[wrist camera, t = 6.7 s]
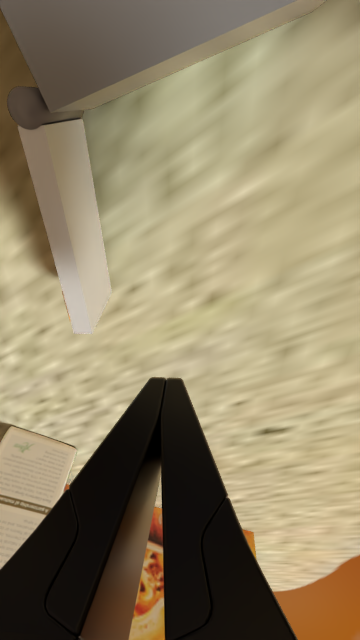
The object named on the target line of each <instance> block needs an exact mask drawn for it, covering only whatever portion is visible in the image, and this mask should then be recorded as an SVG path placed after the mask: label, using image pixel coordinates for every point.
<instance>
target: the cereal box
mask: <svg viewBox="0 0 360 640" xmlns="http://www.w3.org/2000/svg"><path fill="white" fill-rule="evenodd" d="M66 489H69V485H67V484H66V486H65V489H64V492H65V490H66ZM64 492H63V493H64ZM243 532H244V535H245V537H246V539H247V542H248V544H249V546H250V548H251V550H252V552H253V554H254V556H255V558H256V551H255V543H254V534H253V532H250V531H246V530H243ZM129 640H165V625H164V578H163V531H162V509H161V508H157V507H154V511H153V517H152V522H151V527H150V532H149V537H148V542H147V547H146V553H145V558H144V563H143V568H142V573H141V578H140V583H139V589H138V594H137V599H136V604H135V609H134V614H133V619H132V624H131V630H130V635H129Z"/></svg>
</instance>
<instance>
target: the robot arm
mask: <svg viewBox="0 0 360 640" xmlns="http://www.w3.org/2000/svg"><path fill="white" fill-rule="evenodd" d="M160 475H161V485H162V531H163V578H164V625H165V640H298V639H297V637H296V636H295V634H294V632H293V630H292V628H291V626H290V624H289V622H288V620H287V618H286V616H285V614H284V613H283V611H282V609H281V607H280V605H279V603H278V601H277V599H276V597H275V595H274V594H273V592H272V590H271V588H270V586H269V584H268V582H267V580H266V578H265V576H264V574H263V572H262V570H261V568H260V566H259V564H258V562H257V560H256V558H255V556H254V554H253V552H252V550H251V548H250V546H249V544H248V542H247V539H246V537H245V535H244V532H243V530H242V528H241V525H240V523H239V521H238V518H237V516H236V514H235V511H234V509H233V506H232V503H231V501H230V499H229V498H228V494H227V491H226V489H225V486H224V484H223V481H222V479H221V476H220V473H219V471H218V468H217V466H216V463H215V461H214V458H213V456H212V453H211V451H210V448H209V446H208V443H207V440H206V438H205V435H204V433H203V430H202V428H201V425H200V423H199V420H198V418H197V415H196V413H195V410H194V407H193V405H192V402H191V400H190V397H189V395H188V392H187V390H186V387H185V385H184V382H183V380H182V379H181V378H167V380H166V378H164V377H152V378H150V379H149V380H148V382H147V383H146V384H145V386H144V387H143V388H142V390H141V391H140V392H139V394H138V395H137V396H136V398H135V399H134V400H133V402H132V403H131V404H130V406H129V407H128V408H127V410H126V411H125V412H124V414H123V415H122V416H121V418H120V419H119V420H118V422H117V423H116V424H115V426H114V427H113V428H112V430H111V431H110V432H109V434H108V435H107V436H106V438H105V439H104V440H103V442H102V443H101V444H100V445H99V447H98V448H97V449H96V451H95V452H94V453H93V455H92V456H91V457H90V459H89V460H88V461H87V463H86V464H85V465H84V467H83V468H82V469H81V471H80V472H79V473H78V475H77V476H76V477H75V479H74V480H73V481H72V483H71V484H70V485H69V489H66V490H65V492H64V493H63V494H62V496H61V497H60V498H59V500H58V501H57V502H56V504H55V505H54V506H53V508H52V509H51V510H50V511H49V513H48V514H47V515H46V516H45V518H44V519H43V520H42V521H41V523H40V524H39V525H38V526H37V528H36V529H35V530H34V531H33V533H32V534H31V535H30V536H29V537H28V538H27V539H26V541H25V542H24V543H23V544H22V545H21V546H20V547H19V549H18V550H17V551H16V552H15V553H14V554H13V556H12V557H11V558H10V559H9V560H8V561H7V562H6V563H5V564H4V566H3V567H2V568H1V569H0V640H129V635H130V630H131V624H132V619H133V614H134V609H135V604H136V599H137V594H138V589H139V583H140V578H141V573H142V568H143V563H144V558H145V553H146V547H147V542H148V537H149V532H150V527H151V522H152V517H153V511H154V506H155V501H156V496H157V491H158V486H159V481H160Z"/></svg>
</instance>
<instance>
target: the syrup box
mask: <svg viewBox="0 0 360 640" xmlns="http://www.w3.org/2000/svg"><path fill="white" fill-rule="evenodd" d="M76 453H77V449H76V448H74V447H71V446H69V445H66V444H64V443H62V442H59V441H56V440H53V439H50V438H48V437H45V436H41V435H38V434H35V433H32V432H29V431H26V430H23V429H20V428H16V427H14V426H11V427H10V428H9V429H8V430H7V432H6V434H5V435H4V437H3V439H2V441H1V442H0V569H1V568H2V567H3V566H4V564H5V563H6V562H7V561H8V560H9V559H10V558H11V557H12V556H13V554H14V553H15V552H16V551H17V550H18V549H19V547H20V546H21V545H22V544H23V543H24V542H25V541H26V539H27V538H28V537H29V536H30V535H31V534H32V533H33V531H34V530H35V529H36V528H37V526H38V525H39V524H40V523H41V521H42V520H43V519H44V518H45V516H46V515H47V514H48V513H49V511H50V510H51V509H52V508H53V506H54V505H55V504H56V502H57V501H58V500H59V498H60V497H61V496H62V494H63V492H64V489H65V486H66V483H67V480H68V477H69V474H70V471H71V468H72V465H73V462H74V459H75V456H76Z"/></svg>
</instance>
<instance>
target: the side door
mask: <svg viewBox="0 0 360 640" xmlns="http://www.w3.org/2000/svg"><path fill="white" fill-rule="evenodd" d="M7 105H8V110H9V113H10V115H11V117H12V118H13V120H14V121H15V122H16V123H17V124H18V125H19V126H17V127H18V130H19V134H20V138H21V141H22V145H23V149H24V152H25V156H26V160H27V163H28V167H29V171H30V174H31V178H32V182H33V185H34V189H35V193H36V196H37V200H38V203H39V207H40V211H41V214H42V218H43V222H44V225H45V229H46V233H47V236H48V240H49V244H50V247H51V251H52V255H53V258H54V262H55V266H56V269H57V273H58V276H59V280H60V284H61V287H62V293H63V297H64V301H65V304H66V308H67V311H68V315H69V319H70V321H71V324H72V328H73V331H74V333H78V334H92V333H93V331H94V329H95V327H96V325H97V323H98V321H99V319H100V317H101V314H102V312H103V310H104V308H105V306H106V304H107V302H108V300H109V298H110V295H111V293H112V290H111V284H110V278H109V272H108V266H107V260H106V254H105V248H104V243H103V237H102V231H101V225H100V219H99V213H98V207H97V201H96V195H95V189H94V183H93V177H92V171H91V165H90V159H89V153H88V147H87V141H86V135H85V129H84V123H83V119H81V118H82V116H83V113H84V110H76V111H65V112H54V113H50V111H49V109H48V107H47V105H46V102H45V100H44V98H43V96H42V94H41V92H40V90H39V88H36V87H21V86H19V87H15V88H13V89H12V90H11V91H10V93H9V95H8V99H7Z"/></svg>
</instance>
